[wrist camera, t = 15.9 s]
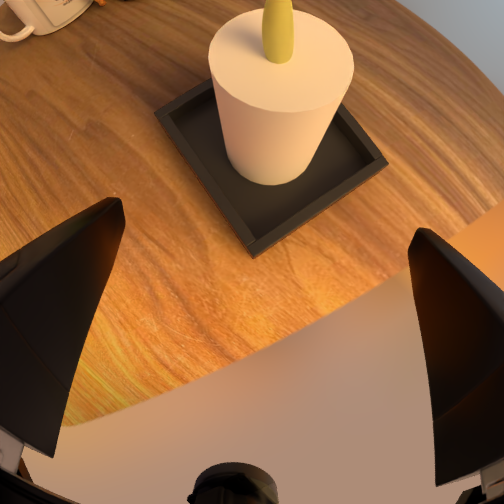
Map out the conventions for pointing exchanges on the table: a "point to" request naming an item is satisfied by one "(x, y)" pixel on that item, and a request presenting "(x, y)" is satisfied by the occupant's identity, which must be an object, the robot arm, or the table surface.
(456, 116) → the table surface
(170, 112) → the shallow square tray
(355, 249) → the table surface
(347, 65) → the candle
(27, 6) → the mug
